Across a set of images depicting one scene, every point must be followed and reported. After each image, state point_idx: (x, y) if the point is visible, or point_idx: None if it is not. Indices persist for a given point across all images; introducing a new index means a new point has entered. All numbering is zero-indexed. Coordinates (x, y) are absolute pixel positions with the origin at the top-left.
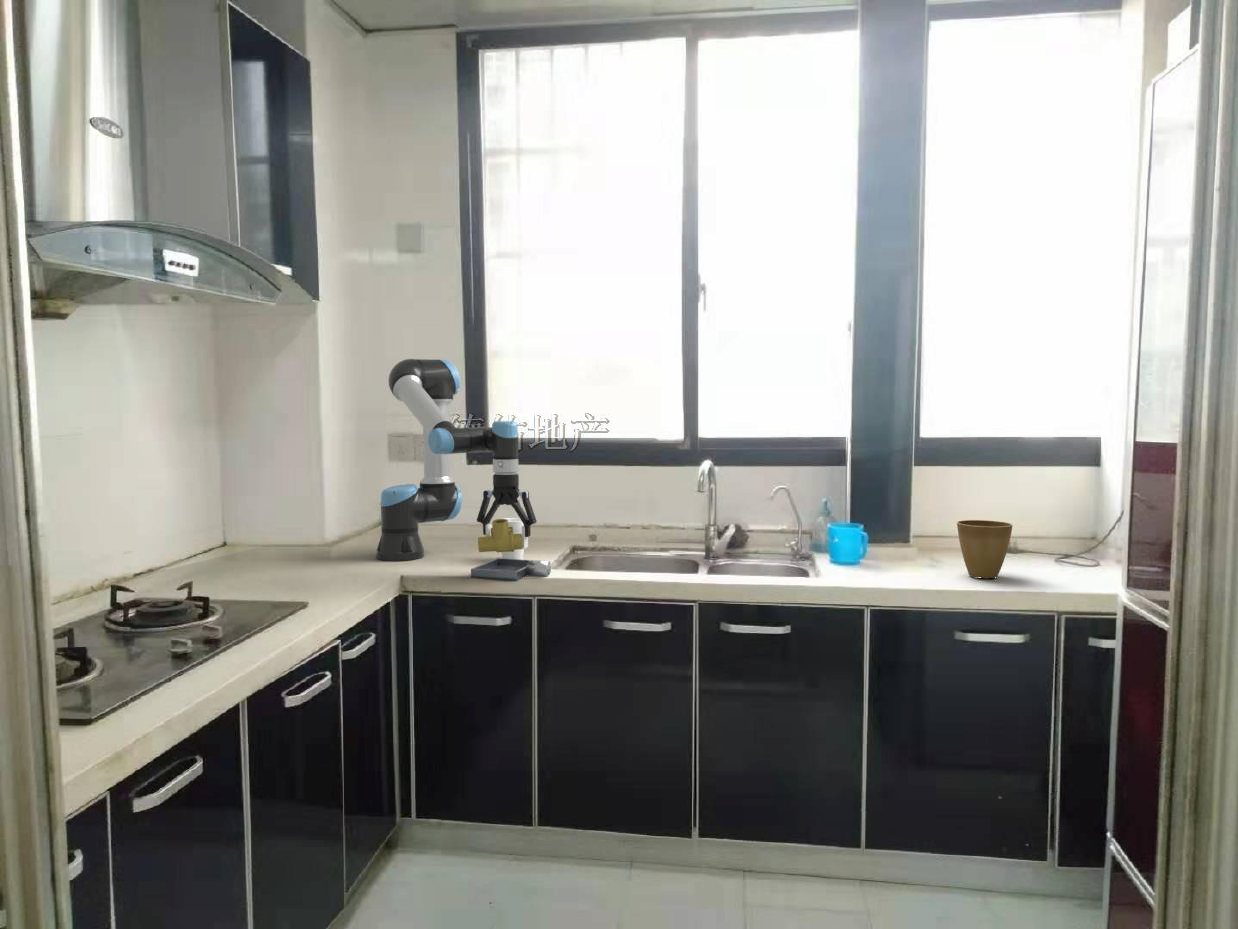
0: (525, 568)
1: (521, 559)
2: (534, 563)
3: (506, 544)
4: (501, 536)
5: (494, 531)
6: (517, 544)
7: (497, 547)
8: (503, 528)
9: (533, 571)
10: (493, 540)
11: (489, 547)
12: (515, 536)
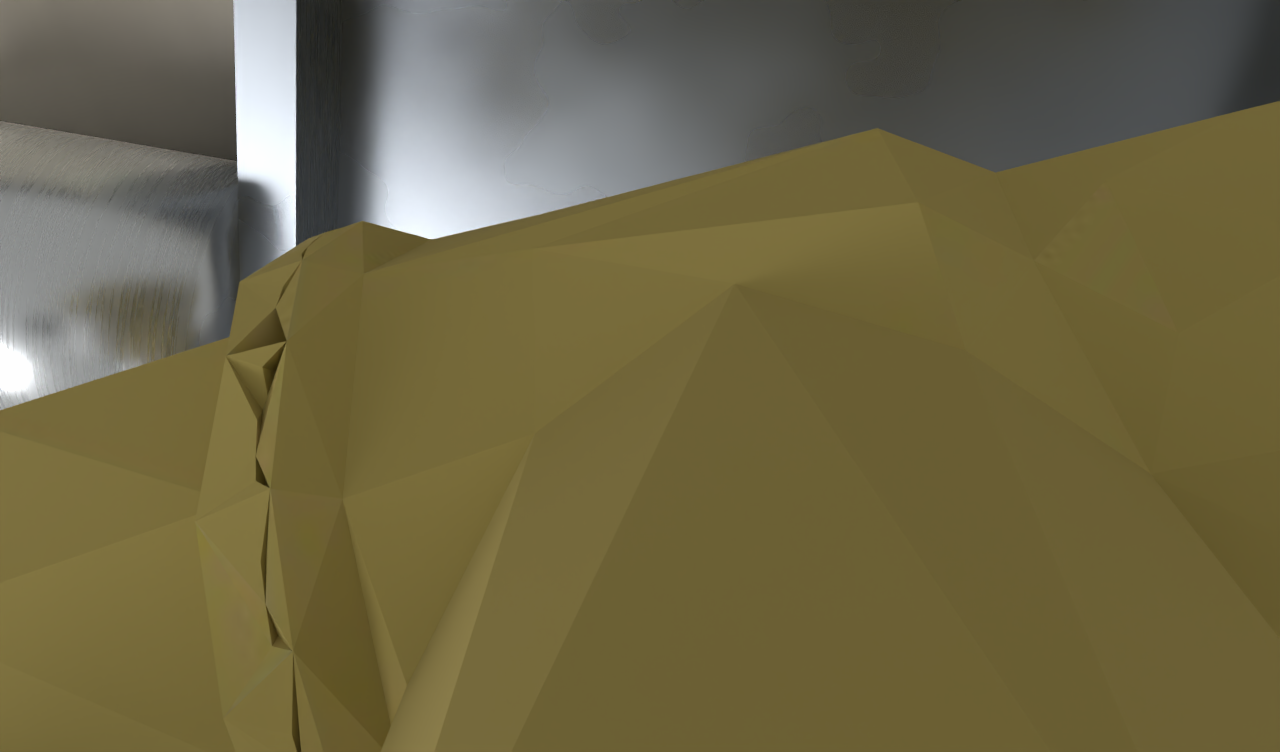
0: (238, 137)
1: None
2: (22, 234)
3: (508, 224)
4: (698, 376)
5: (1208, 616)
6: (155, 367)
7: (876, 128)
8: (495, 711)
9: (111, 141)
10: (1121, 308)
11: (1217, 124)
12: (139, 627)
